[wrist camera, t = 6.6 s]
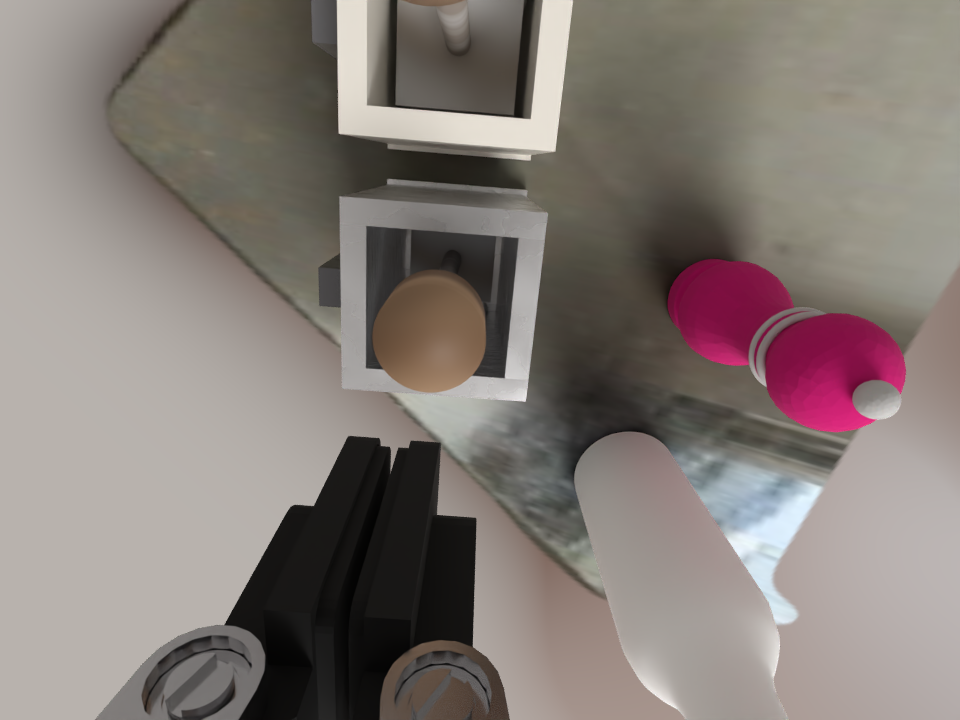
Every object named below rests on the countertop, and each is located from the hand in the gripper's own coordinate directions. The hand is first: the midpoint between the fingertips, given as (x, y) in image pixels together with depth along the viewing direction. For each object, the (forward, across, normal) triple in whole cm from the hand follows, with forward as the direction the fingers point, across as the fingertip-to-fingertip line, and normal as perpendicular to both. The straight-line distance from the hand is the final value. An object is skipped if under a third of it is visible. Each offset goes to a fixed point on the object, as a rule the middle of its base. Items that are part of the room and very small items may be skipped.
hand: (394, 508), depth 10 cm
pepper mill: (+33, -19, +3) cm, 38 cm away
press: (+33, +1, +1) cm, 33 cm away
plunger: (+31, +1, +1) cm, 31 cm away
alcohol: (+33, -15, +19) cm, 41 cm away
